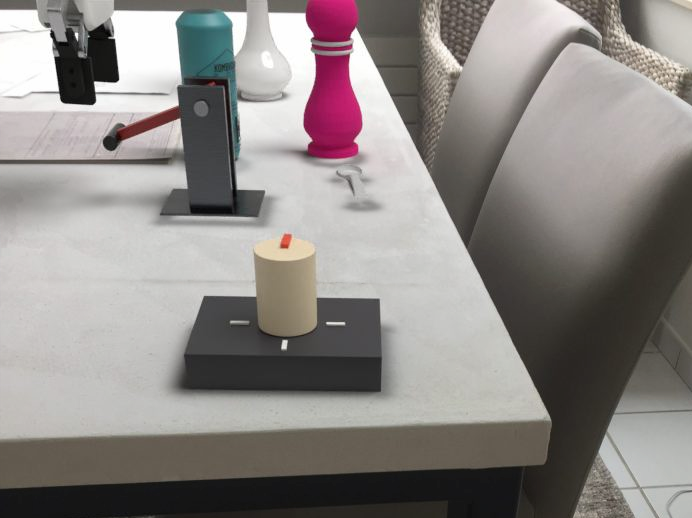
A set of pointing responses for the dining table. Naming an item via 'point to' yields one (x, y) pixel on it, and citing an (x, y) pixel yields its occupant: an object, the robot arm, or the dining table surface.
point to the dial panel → (285, 348)
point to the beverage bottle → (209, 52)
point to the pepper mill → (332, 81)
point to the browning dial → (286, 286)
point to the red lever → (140, 127)
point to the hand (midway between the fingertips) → (91, 92)
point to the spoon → (354, 180)
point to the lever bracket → (209, 154)
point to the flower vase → (260, 58)
